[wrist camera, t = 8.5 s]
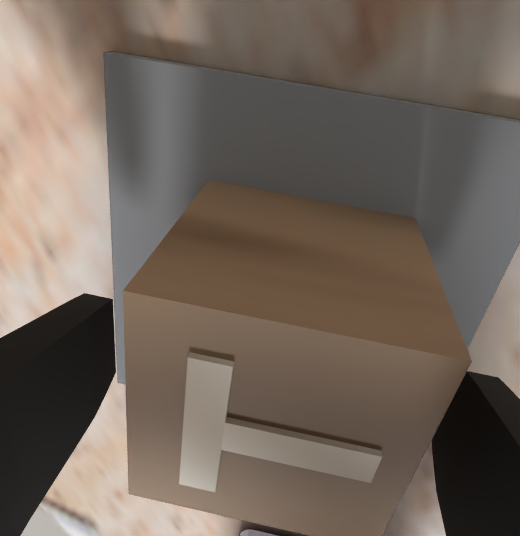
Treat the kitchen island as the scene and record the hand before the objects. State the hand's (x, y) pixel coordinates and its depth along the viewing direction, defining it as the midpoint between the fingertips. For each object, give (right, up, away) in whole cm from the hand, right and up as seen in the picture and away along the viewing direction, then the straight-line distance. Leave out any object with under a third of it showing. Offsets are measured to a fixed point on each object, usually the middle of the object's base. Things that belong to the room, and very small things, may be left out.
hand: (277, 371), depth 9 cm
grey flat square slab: (+1, +2, +3) cm, 4 cm away
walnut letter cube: (0, +2, +3) cm, 3 cm away
